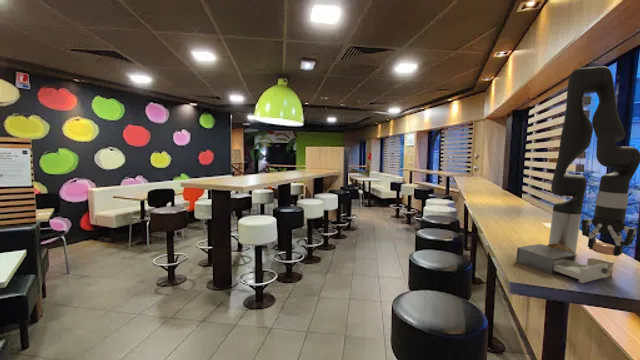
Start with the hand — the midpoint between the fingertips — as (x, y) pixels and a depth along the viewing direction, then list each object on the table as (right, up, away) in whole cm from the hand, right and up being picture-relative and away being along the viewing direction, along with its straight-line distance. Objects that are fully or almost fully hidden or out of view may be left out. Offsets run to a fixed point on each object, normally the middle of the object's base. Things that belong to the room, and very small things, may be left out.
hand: (603, 252), depth 101 cm
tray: (-11, -7, -2) cm, 13 cm away
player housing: (-15, -7, +7) cm, 18 cm away
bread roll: (-4, -7, +15) cm, 17 cm away
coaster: (0, 0, 0) cm, 0 cm away
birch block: (-1, -8, +1) cm, 8 cm away
